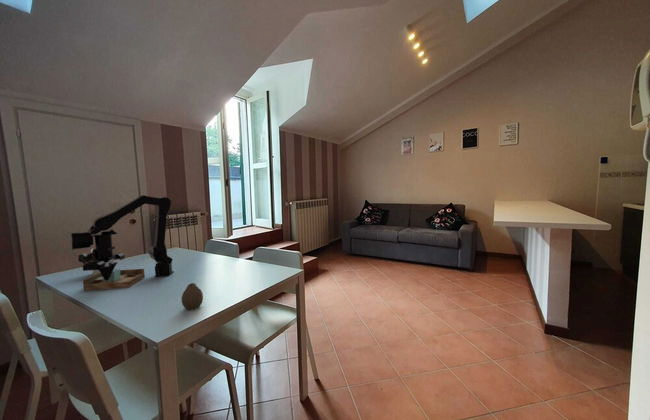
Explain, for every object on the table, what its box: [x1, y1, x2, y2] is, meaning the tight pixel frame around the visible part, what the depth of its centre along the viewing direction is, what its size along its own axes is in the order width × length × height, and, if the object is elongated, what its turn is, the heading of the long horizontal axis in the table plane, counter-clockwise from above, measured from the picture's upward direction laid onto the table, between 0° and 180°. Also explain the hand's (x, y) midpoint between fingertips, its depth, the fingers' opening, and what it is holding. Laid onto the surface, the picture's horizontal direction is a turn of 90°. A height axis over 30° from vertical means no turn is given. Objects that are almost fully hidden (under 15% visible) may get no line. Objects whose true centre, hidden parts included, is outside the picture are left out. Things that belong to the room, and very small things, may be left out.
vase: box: [181, 282, 204, 311], centre depth 95 cm, size 7×7×9 cm
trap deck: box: [82, 268, 146, 291], centre depth 121 cm, size 18×13×4 cm
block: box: [103, 268, 121, 281], centre depth 120 cm, size 4×4×4 cm
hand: (106, 280), depth 116 cm, fingers closed
